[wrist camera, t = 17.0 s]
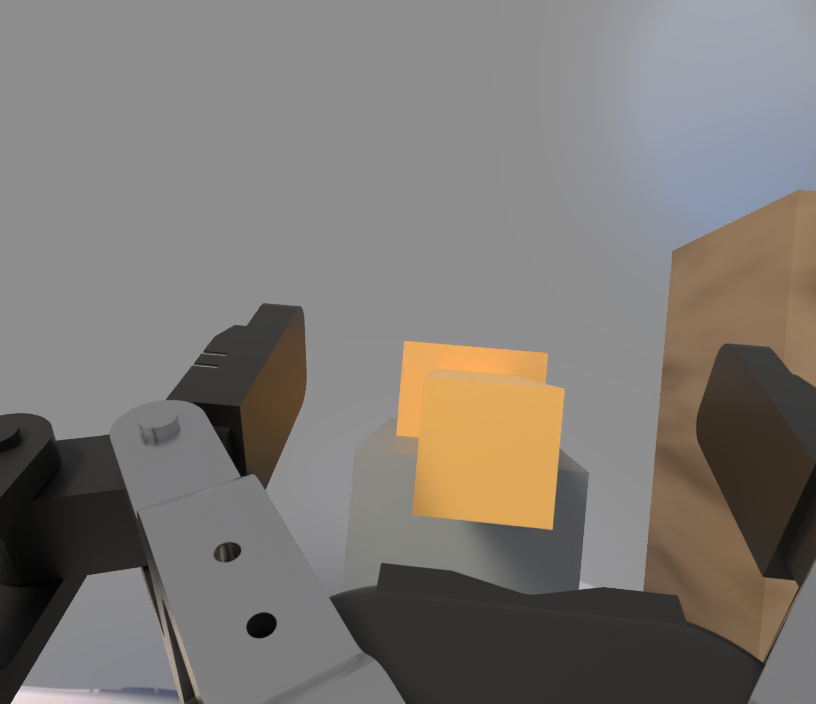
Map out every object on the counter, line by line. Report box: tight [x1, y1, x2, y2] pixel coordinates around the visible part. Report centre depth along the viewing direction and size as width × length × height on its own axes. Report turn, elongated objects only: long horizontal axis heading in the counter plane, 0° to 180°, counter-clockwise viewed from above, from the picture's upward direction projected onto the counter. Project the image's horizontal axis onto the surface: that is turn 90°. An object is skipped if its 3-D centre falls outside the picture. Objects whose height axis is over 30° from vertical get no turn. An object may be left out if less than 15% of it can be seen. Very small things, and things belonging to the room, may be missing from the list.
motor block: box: [342, 418, 589, 595], centre depth 28 cm, size 8×12×22 cm, turn 176°
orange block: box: [396, 341, 565, 530], centre depth 23 cm, size 6×19×4 cm, turn 176°
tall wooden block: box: [643, 190, 816, 661], centre depth 27 cm, size 8×12×32 cm, turn 176°
